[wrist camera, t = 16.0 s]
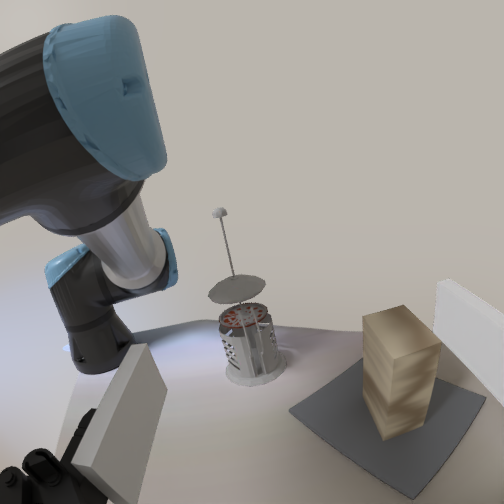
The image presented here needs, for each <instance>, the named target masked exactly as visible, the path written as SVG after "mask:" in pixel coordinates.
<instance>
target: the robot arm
mask: <svg viewBox="0 0 504 504" xmlns="http://www.w3.org/2000/svg"><path fill="white" fill-rule="evenodd" d="M166 163H167V153H166V149H165V145H164V140H163V136H162V132H161V128H160V123H159V120H158V115H157V111H156V107H155V103H154V100H153V96H152V91H151V87H150V84H149V79H148V74H147V69H146V65H145V61H144V56H143V52H142V47H141V43H140V39H139V36H138V32H137V29H136V27H135V25H134V24H133V23H132V22H131V21H129V20H128V19H127V18H124V17H122V16H117V15H110V16H104V17H99V18H95V19H90V20H87V21H83V22H79V23H76V24H72V23H68V24H62V25H59V26H57V27H55V28H53V29H52V30H51V31H50V32H48V33H45V34H43V35H40V36H38V37H35V38H33V39H31V40H29V41H26V42H24V43H22V44H20V45H18V46H16V47H14V48H11V49H9V50H7V51H5V52H3V53H2V54H0V226H1V225H3V224H5V223H8V222H10V221H13V220H15V219H17V218H20V217H23V216H27V215H30V216H31V217H32V218H33V219H34V220H36V221H37V222H38V223H39V224H40V225H41V226H42V227H44V228H45V229H47V230H48V231H50V232H52V233H54V234H58V235H62V236H68V237H75V236H77V237H78V238H79V239H80V240H81V241H82V242H83V244H80V245H78V246H77V247H74V248H72V249H71V250H68V251H66V252H64V253H63V254H61V255H59V256H57V257H56V258H54V259H52V260H51V261H49V262H48V263H47V265H46V266H45V275H46V279H47V282H48V288H49V289H50V291H51V294H52V297H53V299H54V302H55V304H56V307H57V309H58V312H59V314H60V316H61V319H62V321H63V323H64V326H65V328H66V330H67V333H68V338H69V345H70V351H71V357H72V360H73V362H74V364H75V366H76V368H77V370H79V371H80V372H82V373H85V374H97V373H102V372H106V371H109V370H111V369H113V368H116V367H117V366H119V365H120V366H119V368H118V370H117V372H116V374H115V375H114V377H113V379H112V381H111V383H110V385H109V387H108V389H107V390H106V392H105V394H104V396H103V398H102V400H101V402H100V404H99V406H98V408H97V409H92V408H91V409H90V410H89V411H88V412H87V413H86V414H85V415H84V416H83V418H82V419H81V421H80V423H79V425H78V429H76V431H75V433H74V437H72V439H71V441H70V443H69V445H68V447H67V449H66V451H65V453H64V455H63V457H62V459H61V461H60V462H59V461H58V460H57V458H56V457H55V456H54V455H53V454H52V453H51V452H50V451H48V450H47V449H43V448H39V449H35V450H33V451H31V452H30V453H29V454H28V455H27V456H26V457H25V458H24V461H23V463H22V469H23V470H24V471H25V472H26V473H27V474H28V475H29V476H26V475H25V474H24V473H23V472H22V471H21V470H20V469H18V468H17V467H13V466H11V467H8V468H6V469H4V470H3V471H2V472H1V474H0V504H107V500H108V499H109V500H110V501H112V502H113V503H114V504H137V502H138V498H139V494H140V490H141V486H142V482H143V478H144V474H145V470H146V466H147V462H148V458H149V455H150V451H151V447H152V443H153V440H154V436H155V432H156V429H157V425H158V422H159V418H160V415H161V411H162V407H163V404H164V401H165V397H166V394H167V388H166V386H165V383H164V381H163V379H162V377H161V375H160V373H159V370H158V368H157V366H156V364H155V361H154V359H153V357H152V355H151V352H150V350H149V348H148V345H147V343H143V344H136V341H135V339H134V336H133V334H132V333H131V331H130V330H129V329H128V328H127V326H126V325H125V324H124V323H123V322H122V320H121V319H120V318H119V317H118V316H117V314H116V312H115V310H114V307H113V305H112V304H116V303H119V302H122V301H125V300H129V299H133V298H136V297H140V296H143V295H147V294H150V293H154V292H157V291H163V290H166V289H167V288H169V287H172V286H174V285H175V284H176V283H177V280H178V270H177V262H176V257H175V253H174V249H173V246H172V243H171V240H170V237H169V235H168V233H167V232H166V230H165V229H163V228H159V229H156V228H155V229H152V228H151V227H149V224H148V221H147V218H146V215H145V211H144V208H143V205H142V201H141V198H140V191H141V190H142V188H143V185H144V182H145V179H147V178H149V177H150V176H151V175H152V174H154V173H157V172H159V171H161V170H162V169H163V168H164V167H165V166H166ZM433 333H434V334H435V335H436V336H437V337H438V338H439V339H440V340H441V341H442V342H443V343H444V344H445V345H446V346H447V347H448V348H449V349H450V350H451V351H452V352H453V353H454V354H455V355H456V356H457V357H458V358H459V359H460V360H461V361H462V362H463V363H464V364H465V365H466V366H467V367H468V369H469V370H470V371H471V372H472V373H473V374H474V375H475V376H476V377H477V378H478V379H479V380H480V381H481V382H482V383H483V385H484V386H485V387H486V388H487V389H488V390H489V391H490V392H491V393H492V394H493V396H494V397H495V398H496V399H497V400H498V401H499V402H500V403H501V405H502V406H503V407H504V314H503V313H501V312H500V311H498V310H497V309H496V308H494V307H493V306H491V305H490V304H488V303H486V302H485V301H484V300H482V299H481V298H479V297H478V296H476V295H475V294H473V293H472V292H470V291H469V290H467V289H465V288H464V287H462V286H461V285H459V284H458V283H456V282H455V281H453V280H451V279H450V278H448V279H445V280H442V281H439V282H437V293H436V305H435V316H434V325H433Z"/></svg>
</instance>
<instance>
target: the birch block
mask: <svg viewBox="0 0 504 504" xmlns="http://www.w3.org/2000/svg"><path fill="white" fill-rule="evenodd" d="M441 343H442V341H441V340H440V339H439V338H438V337H437V336H436V335H435V334H434V333H433V332H432V331H431V330H430V329H428V328H427V327H426V326H425V325H424V324H423V323H422V322H421V321H420V320H419V319H418V318H417V317H416V316H415V315H414V314H413V313H412V312H411V311H410V310H409V309H407V308H406V307H405V306H404V305H401V306H398V307H394V308H391V309H387V310H384V311H380V312H377V313H373V314H369V315H366V316H363V398H364V400H365V403H366V405H367V407H368V409H369V411H370V413H371V415H372V418H373V420H374V422H375V424H376V426H377V429H378V431H379V433H380V435H381V437H382V440H383V441H385V440H388V439H390V438H393V437H396V436H399V435H401V434H404V433H406V432H409V431H411V430H414V429H416V428H419V427H421V426H423V424H424V421H425V417H426V414H427V410H428V406H429V402H430V398H431V394H432V390H433V386H434V381H435V376H436V372H437V366H438V361H439V355H440V349H441Z"/></svg>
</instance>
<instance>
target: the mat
mask: <svg viewBox="0 0 504 504" xmlns="http://www.w3.org/2000/svg"><path fill="white" fill-rule="evenodd" d="M485 399H486V397H484V396H481V395H479V394H476V393H474V392H471V391H468V390H466V389H463V388H460V387H458V386H455V385H453V384H450V383H448V382H445V381H443V380H440V379H438V378H435V381H434V386H433V390H432V394H431V398H430V402H429V406H428V410H427V414H426V417H425V421H424V424H423V426H421V427H419V428H416V429H414V430H411V431H409V432H406V433H404V434H401V435H399V436H396V437H393V438H390V439H388V440H385V441H383V440H382V437H381V435H380V433H379V431H378V429H377V426H376V424H375V422H374V420H373V418H372V415H371V413H370V411H369V409H368V407H367V405H366V403H365V400H364V398H363V358H362V359H361V360H359V361H358V362H357V363H355V364H354V365H353V366H352V367H350V368H349V369H348V370H346V371H345V372H343V373H342V374H341V375H339V376H338V377H337V378H335V379H334V380H332V381H331V382H330V383H328V384H327V385H325V386H324V387H322V388H321V389H320V390H318V391H317V392H315V393H314V394H312V395H311V396H309V397H308V398H306V399H304V400H303V401H301V402H300V403H298V404H297V405H295V406H294V407H292V408H290V409H289V412H290V413H291V414H292V415H293V416H294V417H296V418H297V419H298V420H299V421H301V422H302V423H303V424H304V425H306V426H307V427H308V428H309V429H311V430H312V431H313V432H315V433H316V434H317V435H318V436H320V437H321V438H322V439H324V440H325V441H326V442H328V443H329V444H330V445H332V446H333V447H334V448H336V449H337V450H338V451H340V452H341V453H342V454H344V455H345V456H347V457H348V458H349V459H351V460H352V461H354V462H355V463H356V464H358V465H359V466H361V467H362V468H364V469H365V470H367V471H368V472H370V473H371V474H373V475H374V476H376V477H377V478H379V479H380V480H382V481H383V482H385V483H386V484H388V485H390V486H391V487H393V488H394V489H396V490H398V491H399V492H401V493H402V494H404V495H406V496H407V497H409V498H411V499H414V498H415V497H416V496H417V495H418V494H419V493H420V492H421V490H422V489H423V488H424V487H425V486H426V485H427V484H428V482H429V481H430V480H431V479H432V478H433V476H434V475H435V474H436V473H437V471H438V470H439V469H440V468H441V466H442V465H443V464H444V463H445V461H446V460H447V459H448V457H449V456H450V454H451V453H452V452H453V450H454V449H455V447H456V446H457V445H458V443H459V442H460V440H461V439H462V437H463V436H464V434H465V433H466V431H467V430H468V428H469V426H470V425H471V423H472V422H473V420H474V418H475V417H476V415H477V413H478V412H479V410H480V408H481V406H482V405H483V403H484V401H485Z"/></svg>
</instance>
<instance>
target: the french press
mask: <svg viewBox="0 0 504 504" xmlns="http://www.w3.org/2000/svg"><path fill="white" fill-rule="evenodd" d="M212 215H213V218H220V221H221V226H222V230H223V235H224V239H225V243H226V247H227V252H228V256H229V261H230V265H231V269H232V273H233V276H231V277H228V278H226V279H224V280H222V281H221V282H218V283H217V284H216V285H215V286H214V287H213V288H212V289H211V290H210V291H209V294H208V297H209V298H210V299H211V300H212V301H213V302H215V303H219V304H233V303H238V302H239V303H240V305H236V306H233V307H231V308H229V309H227V310H225V311H224V312H223V313H222V314H221V315H220V316H219V322H220V323H221V324H220V327H219V332H220V336H221V338H222V339H223V340H222V342H223V345H224V346H225V347H224V349H225V352H226V353H227V354H226V356H227V358H228V359H229V360H228V362H229V364H228V366H227V367H226V376H227V377H228V379H229V380H230V381H231V382H233V383H235V384H237V385H241V386H250V387H251V386H257V385H263V384H266V383H268V382H270V381H272V380H274V379H276V378H277V377H278V376H279V375H280V374H282V373H283V372H284V369H285V367H286V365H287V363H286V358H285V356H284V355H282V354H281V353H280V352H278V348H277V343H276V338H274V340H273V337H275V334H274V328H273V323H272V318H271V315H270V314H268V313H267V312H268V310H267V307H266V306H264V305H263V304H259V303H245V304H244V303H243V304H241V302H243V301H245V300H248V299H251V298H253V297H255V296H256V295H258V294H259V293H260V292H261V291H262V290H263V288H264V287H265V285H266V284H265V281H264V280H263V279H261V278H259V277H256V276H250V275H236V276H235V274H234V270H233V266H232V262H231V257H230V253H229V249H228V244H227V240H226V236H225V231H224V226H223V222H222V217H223V216H226V215H227V212H226V210H225V209H224V208H217V209H215V210H214V211H213V214H212ZM258 322H259V323H270V324H269V325H268V326H267V327H265V326H258ZM231 329H232V330H233V332H232V333H231V334H230V335H229V336H226V335H225V334H226V333H228V332H229V331H230V330H231ZM257 329H258V332H257ZM260 330H262V331H260ZM272 330H273V333H271V331H272ZM233 336H234V337H233ZM270 337H271V339H270ZM226 342H227V343H229V344H228V345H226V344H225V343H226ZM271 343H273V345H272V344H271ZM275 343H276V346H275ZM231 346H233V349H232V348H230V347H231ZM227 349H229V350H230V351H229V352H228V351H227ZM232 353H234V355H232ZM228 356H231V358H229V357H228Z"/></svg>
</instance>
